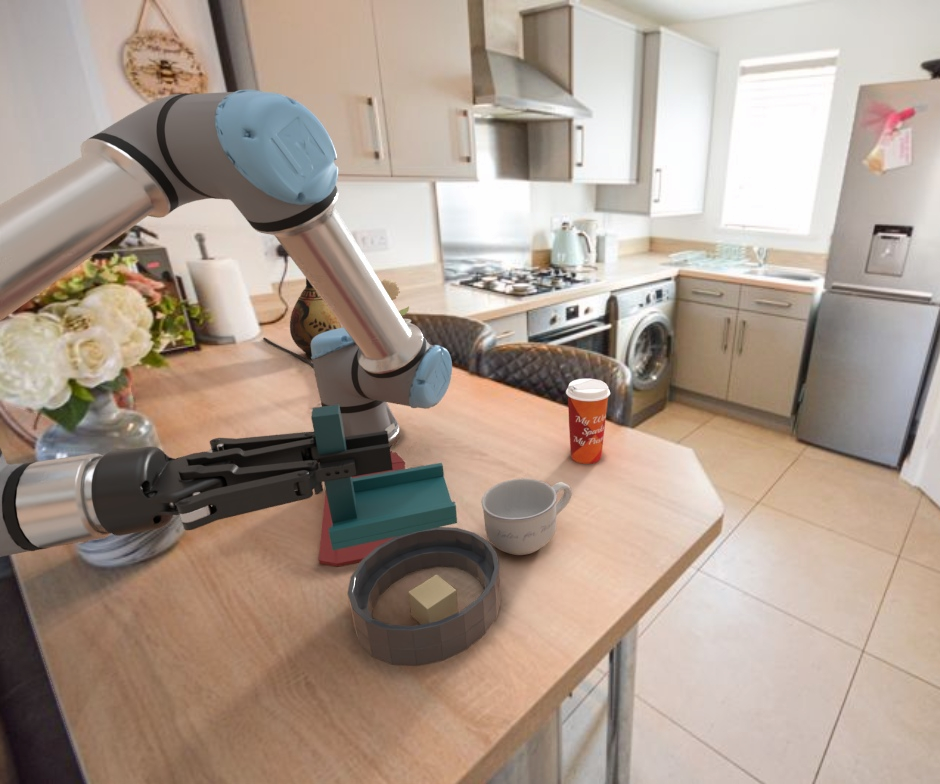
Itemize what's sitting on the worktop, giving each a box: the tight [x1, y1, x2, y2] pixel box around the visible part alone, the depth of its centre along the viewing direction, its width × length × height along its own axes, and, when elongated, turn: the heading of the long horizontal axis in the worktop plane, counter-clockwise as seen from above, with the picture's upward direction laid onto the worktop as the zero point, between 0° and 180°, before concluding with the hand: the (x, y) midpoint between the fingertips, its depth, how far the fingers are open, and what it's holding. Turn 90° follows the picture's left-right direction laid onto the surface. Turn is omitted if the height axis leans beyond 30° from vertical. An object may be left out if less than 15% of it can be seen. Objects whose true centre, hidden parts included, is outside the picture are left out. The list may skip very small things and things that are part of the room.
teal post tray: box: [310, 405, 458, 550], centre depth 54 cm, size 12×10×13 cm
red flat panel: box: [318, 450, 406, 567], centre depth 81 cm, size 12×5×25 cm
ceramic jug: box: [289, 277, 343, 360], centre depth 148 cm, size 17×15×30 cm
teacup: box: [481, 478, 573, 556], centre depth 75 cm, size 14×11×8 cm
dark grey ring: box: [347, 526, 502, 667], centre depth 63 cm, size 17×17×6 cm
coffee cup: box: [565, 378, 611, 465], centre depth 97 cm, size 8×8×15 cm
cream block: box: [407, 574, 459, 625], centre depth 62 cm, size 4×4×4 cm
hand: (389, 449), depth 54 cm, fingers closed on teal post tray, 2 cm apart
